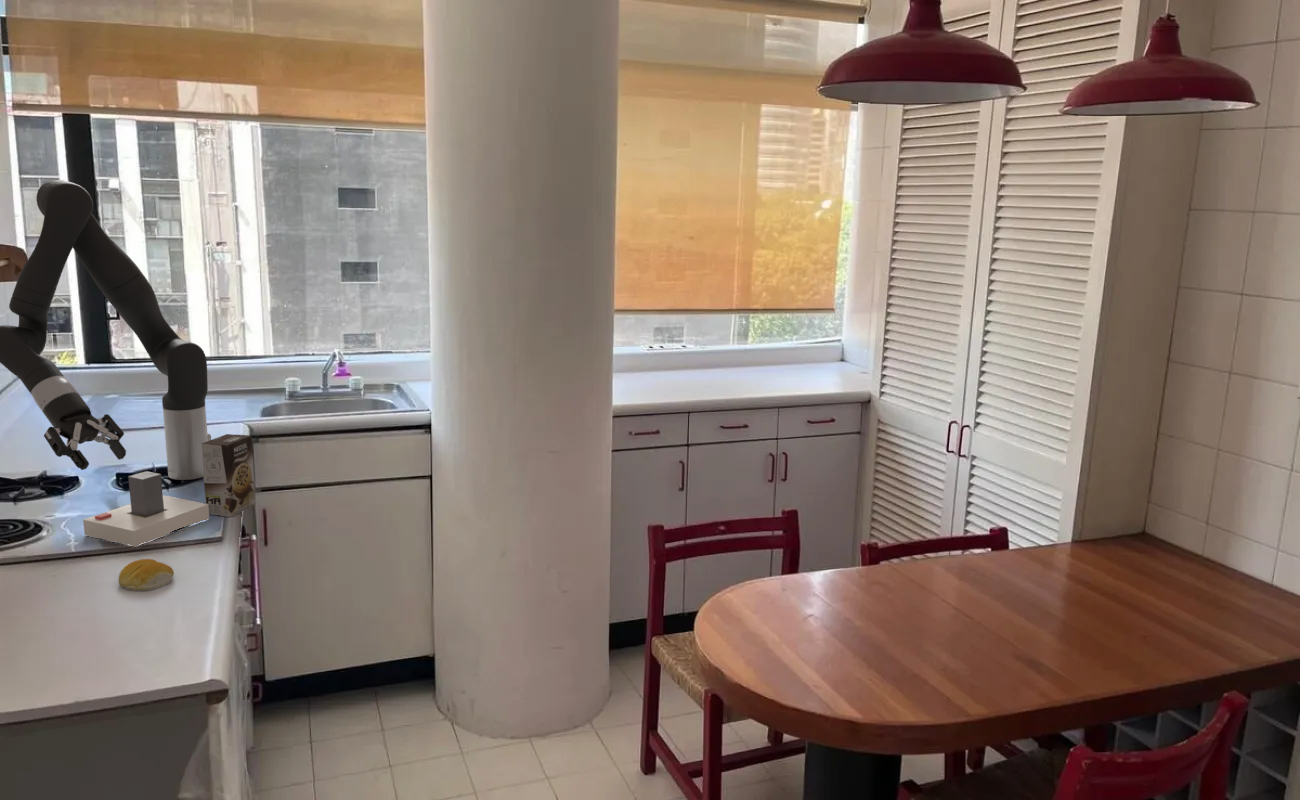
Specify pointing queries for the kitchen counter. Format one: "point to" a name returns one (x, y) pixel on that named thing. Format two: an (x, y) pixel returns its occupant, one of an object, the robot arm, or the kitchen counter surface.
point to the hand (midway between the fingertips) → (104, 462)
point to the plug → (146, 494)
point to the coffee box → (228, 474)
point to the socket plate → (145, 521)
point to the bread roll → (145, 575)
